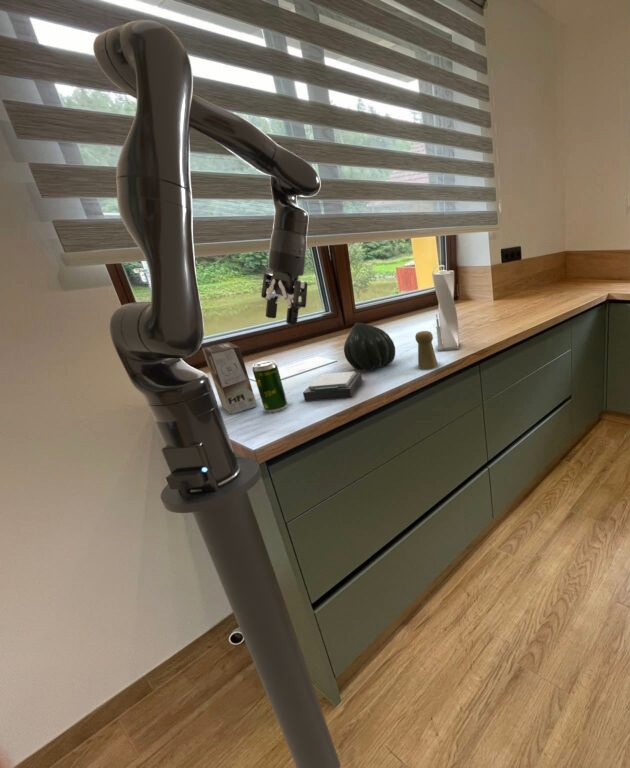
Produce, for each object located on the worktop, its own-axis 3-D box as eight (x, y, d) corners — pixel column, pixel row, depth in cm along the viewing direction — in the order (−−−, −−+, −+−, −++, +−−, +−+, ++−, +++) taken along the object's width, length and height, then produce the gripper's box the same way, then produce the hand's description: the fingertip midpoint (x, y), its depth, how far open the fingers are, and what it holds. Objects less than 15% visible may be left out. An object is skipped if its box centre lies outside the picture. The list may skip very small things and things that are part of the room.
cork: (415, 369, 130) (410, 334, 126) (422, 363, 136) (417, 329, 132) (434, 369, 129) (429, 334, 125) (440, 362, 135) (436, 329, 131)
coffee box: (258, 406, 110) (240, 346, 104) (231, 415, 106) (210, 353, 100) (247, 398, 116) (229, 341, 110) (220, 406, 112) (200, 347, 106)
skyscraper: (439, 344, 155) (429, 265, 145) (461, 342, 156) (453, 263, 145) (438, 351, 147) (427, 267, 137) (461, 349, 148) (453, 266, 138)
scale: (351, 397, 112) (349, 385, 111) (305, 401, 111) (301, 389, 110) (362, 381, 123) (360, 369, 122) (320, 385, 122) (317, 373, 121)
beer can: (284, 402, 111) (272, 358, 107) (291, 407, 108) (278, 362, 103) (262, 408, 108) (248, 364, 104) (268, 414, 104) (254, 368, 100)
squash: (403, 351, 129) (384, 311, 133) (354, 365, 122) (335, 321, 125) (397, 372, 141) (380, 334, 145) (352, 385, 134) (335, 345, 137)
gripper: (254, 245, 100) (248, 314, 103) (290, 252, 93) (283, 325, 96) (285, 252, 106) (278, 317, 109) (321, 259, 100) (313, 327, 102)
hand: (280, 320), depth 102 cm, fingers open, 8 cm apart
